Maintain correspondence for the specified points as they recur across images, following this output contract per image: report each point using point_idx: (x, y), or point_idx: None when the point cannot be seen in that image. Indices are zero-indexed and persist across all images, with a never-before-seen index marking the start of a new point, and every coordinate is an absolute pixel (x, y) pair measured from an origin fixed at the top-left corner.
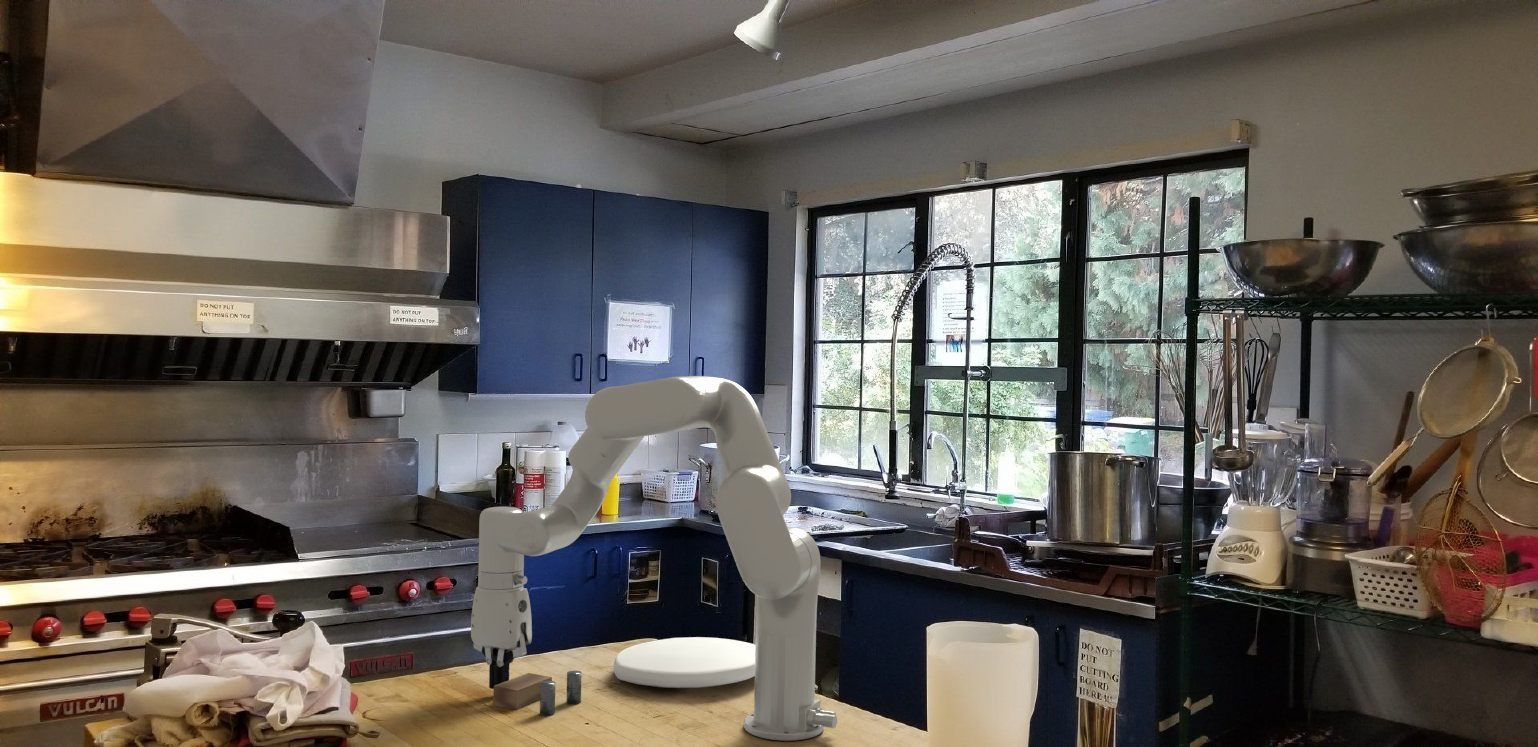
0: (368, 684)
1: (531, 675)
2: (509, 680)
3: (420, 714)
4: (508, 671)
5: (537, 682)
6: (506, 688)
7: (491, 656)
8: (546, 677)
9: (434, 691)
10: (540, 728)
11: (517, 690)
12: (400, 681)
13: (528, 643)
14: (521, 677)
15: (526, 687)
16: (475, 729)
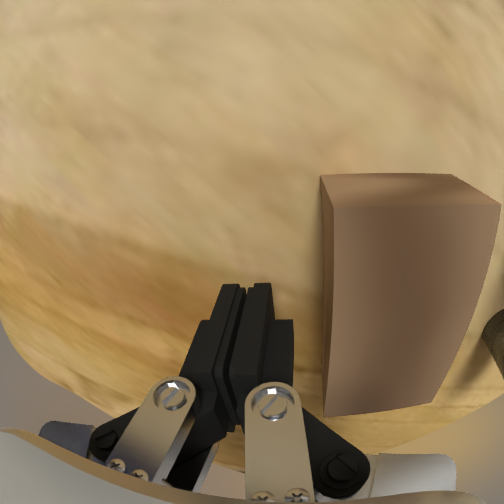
0: (13, 343)
1: (388, 243)
2: (335, 363)
3: (227, 437)
4: (290, 360)
5: (470, 312)
6: (384, 409)
7: (209, 465)
8: (481, 226)
9: (89, 340)
10: (499, 380)
11: (430, 400)
12: (7, 311)
13: (458, 500)
14: (358, 303)
15: (447, 368)
16: (387, 438)
